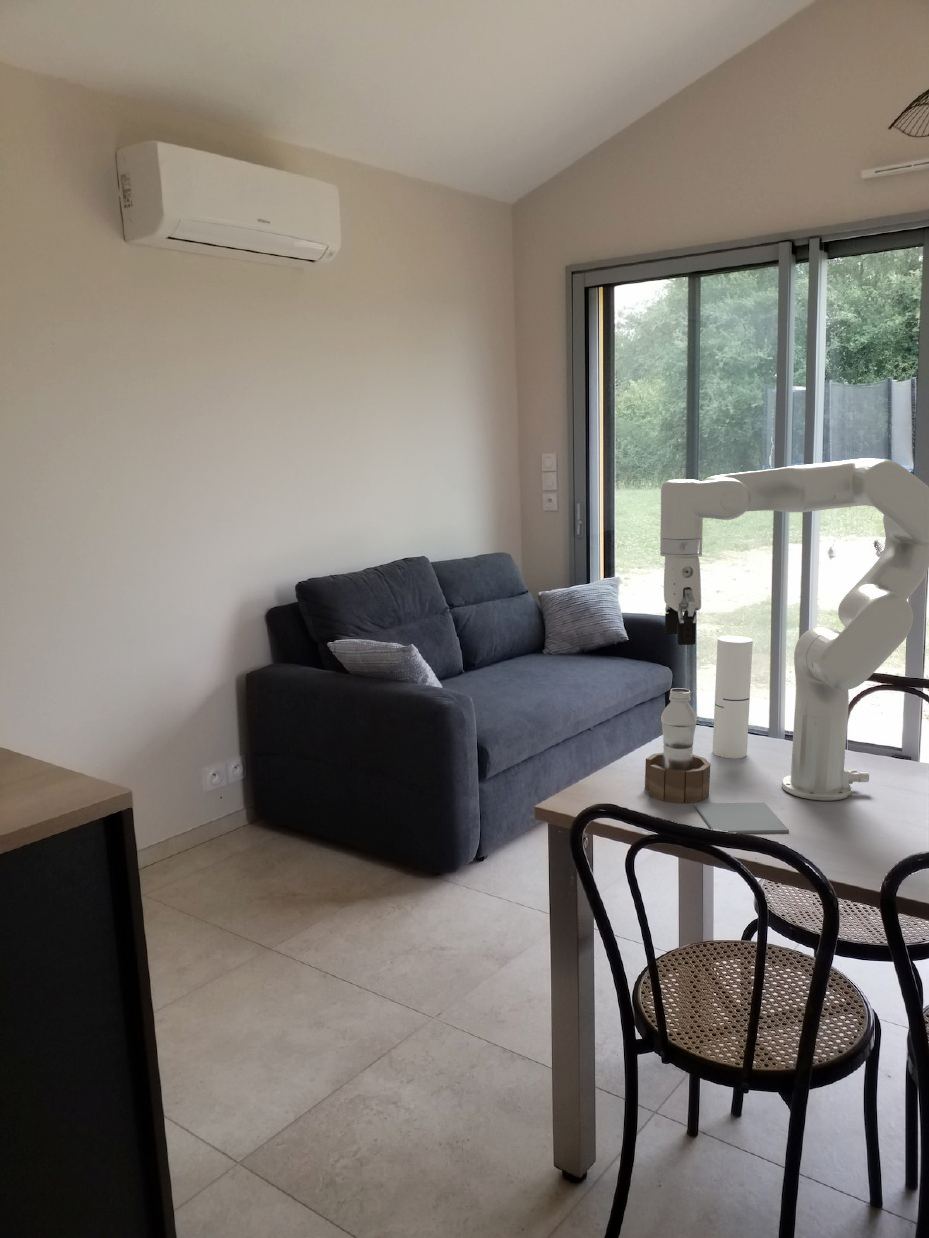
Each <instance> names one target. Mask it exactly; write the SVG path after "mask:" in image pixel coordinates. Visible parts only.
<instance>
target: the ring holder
mask: <svg viewBox="0 0 929 1238" xmlns="http://www.w3.org/2000/svg"><path fill="white" fill-rule="evenodd" d="M662 761H663V752H658V753H653V754H651V755H650V756H648V757H647V758H645V769H644V770H645V771H644V772H645V774H644V776H645V777H644V789H645V790H648V796H649V797H651V798H654V797H655V799H656V798H657V800H659V801H662V802H666V801H667V802H668V803H677V804H689V803H697V802H701V801H704V800H705V799H706V798H708V797H709V795H710V784H711V783H710V781H711V779H710V778H711V763H710V762H709V761H708V759H707V758H705V757H703V756H699V755H697V754H693V769H692V770H685V771H684V770H672V769H666V768H663V767H662ZM667 802H666V803H667Z"/></svg>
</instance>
